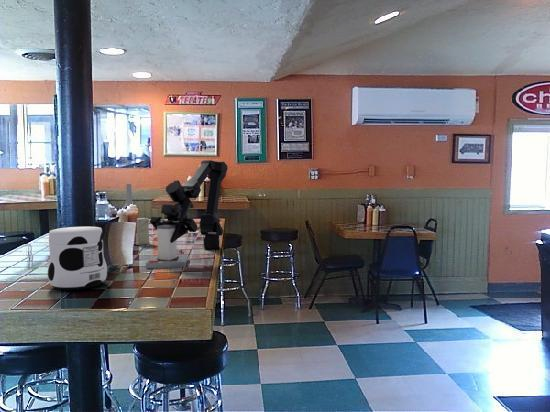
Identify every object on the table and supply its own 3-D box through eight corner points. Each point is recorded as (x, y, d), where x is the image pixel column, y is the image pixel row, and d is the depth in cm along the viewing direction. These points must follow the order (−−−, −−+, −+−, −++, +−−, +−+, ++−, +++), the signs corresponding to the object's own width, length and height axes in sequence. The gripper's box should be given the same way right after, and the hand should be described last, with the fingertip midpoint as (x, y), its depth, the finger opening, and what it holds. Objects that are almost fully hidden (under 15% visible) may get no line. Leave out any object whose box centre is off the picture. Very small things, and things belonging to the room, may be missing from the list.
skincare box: (138, 245, 227) (137, 219, 226) (133, 244, 230) (132, 218, 229) (149, 243, 232) (148, 218, 231) (143, 242, 235) (143, 217, 234)
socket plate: (187, 259, 193) (187, 253, 192) (184, 267, 179) (184, 260, 179) (151, 260, 191) (151, 254, 191) (145, 268, 177) (145, 261, 177)
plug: (165, 256, 188) (164, 224, 187) (177, 257, 186) (176, 225, 185) (157, 259, 184) (156, 226, 182) (169, 260, 182) (168, 227, 180)
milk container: (60, 280, 161) (57, 226, 159) (113, 279, 162) (111, 225, 161) (38, 294, 144) (35, 234, 142) (98, 293, 145) (96, 233, 143)
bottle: (132, 240, 242) (130, 183, 239) (121, 239, 244) (119, 183, 241) (140, 238, 248) (138, 183, 245) (129, 237, 250) (127, 183, 248)
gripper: (151, 196, 190) (134, 227, 181) (192, 196, 183) (176, 230, 174) (164, 213, 198) (148, 245, 189) (204, 215, 191) (189, 248, 182)
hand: (165, 241), depth 183 cm, fingers closed on plug, 5 cm apart
